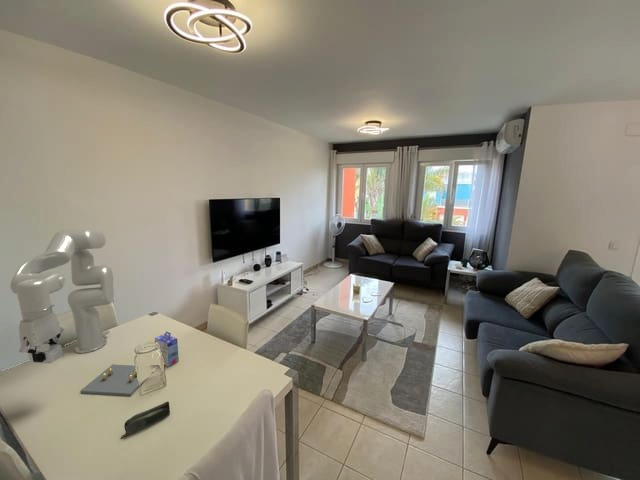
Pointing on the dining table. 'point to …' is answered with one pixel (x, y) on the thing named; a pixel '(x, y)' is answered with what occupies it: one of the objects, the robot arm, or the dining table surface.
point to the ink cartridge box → (168, 348)
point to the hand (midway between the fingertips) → (46, 356)
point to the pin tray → (114, 381)
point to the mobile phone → (146, 418)
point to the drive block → (49, 353)
